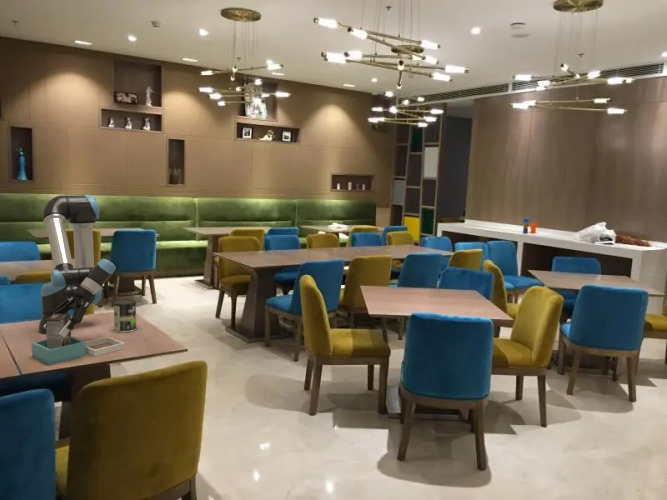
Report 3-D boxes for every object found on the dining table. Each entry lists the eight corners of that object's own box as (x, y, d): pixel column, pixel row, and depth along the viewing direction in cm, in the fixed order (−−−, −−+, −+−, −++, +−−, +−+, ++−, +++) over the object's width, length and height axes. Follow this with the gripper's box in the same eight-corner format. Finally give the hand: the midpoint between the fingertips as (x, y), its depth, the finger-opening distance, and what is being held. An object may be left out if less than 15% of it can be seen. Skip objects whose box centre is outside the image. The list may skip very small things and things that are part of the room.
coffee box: (56, 350, 238) (54, 313, 235) (72, 350, 238) (70, 313, 236) (46, 357, 229) (45, 319, 226) (63, 357, 229) (61, 319, 227)
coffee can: (140, 327, 277) (140, 299, 275) (129, 333, 267) (128, 304, 265) (122, 325, 279) (121, 298, 277) (109, 331, 269) (108, 303, 267)
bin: (32, 356, 232) (31, 342, 231) (67, 347, 244) (67, 334, 243) (49, 364, 223) (49, 350, 222) (85, 355, 235) (85, 341, 234)
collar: (77, 349, 243) (77, 343, 242) (107, 341, 254) (107, 336, 253) (94, 356, 234) (94, 350, 234) (124, 348, 245) (124, 342, 245)
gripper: (108, 300, 235) (75, 343, 225) (78, 291, 250) (46, 330, 241) (96, 290, 230) (61, 333, 220) (66, 281, 245) (32, 321, 236)
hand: (53, 332), depth 230 cm, fingers open, 13 cm apart
